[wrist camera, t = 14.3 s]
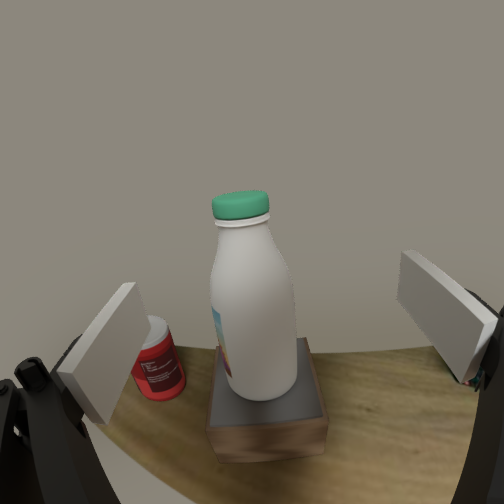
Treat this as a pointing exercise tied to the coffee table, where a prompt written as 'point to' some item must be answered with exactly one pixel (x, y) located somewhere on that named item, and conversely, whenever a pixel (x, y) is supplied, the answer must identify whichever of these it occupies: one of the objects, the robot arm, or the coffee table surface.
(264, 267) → the milk bottle
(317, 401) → the riser
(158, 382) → the canned food
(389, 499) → the coffee table surface
